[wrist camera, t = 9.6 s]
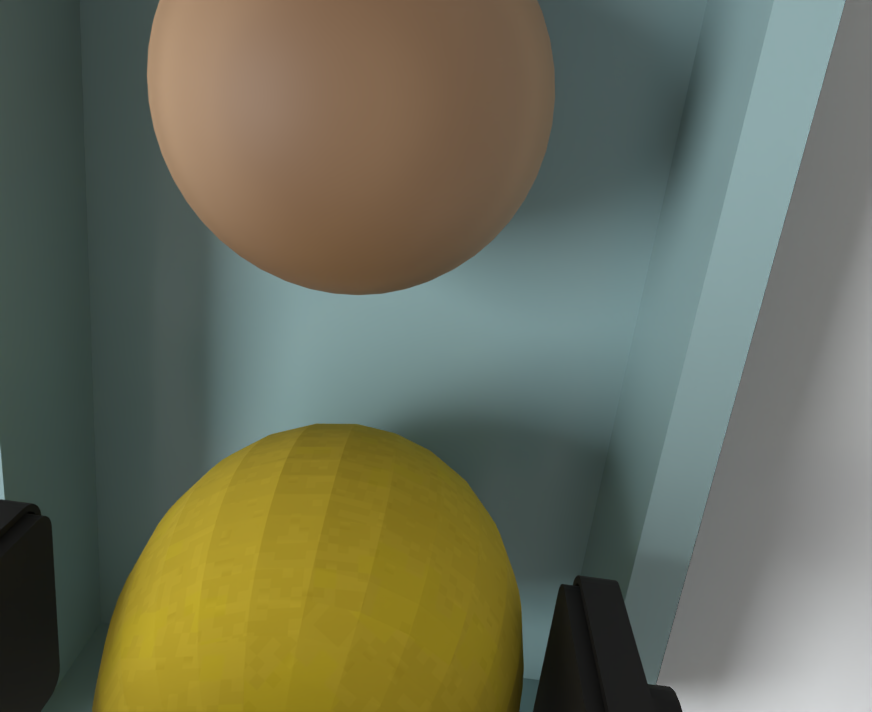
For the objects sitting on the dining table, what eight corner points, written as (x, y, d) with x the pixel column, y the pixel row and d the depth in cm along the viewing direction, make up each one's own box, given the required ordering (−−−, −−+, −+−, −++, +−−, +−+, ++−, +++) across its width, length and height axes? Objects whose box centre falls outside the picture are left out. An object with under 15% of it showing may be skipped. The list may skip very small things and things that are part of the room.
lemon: (155, 483, 15) (-168, 914, 7) (359, 290, 13) (225, 573, 6) (362, 657, 16) (274, 1179, 8) (567, 498, 14) (684, 954, 7)
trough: (780, -127, 11) (904, -211, 8) (584, 695, 17) (610, 846, 13) (38, -222, 11) (-139, -344, 8) (78, 629, 17) (-19, 763, 13)
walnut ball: (564, -62, 11) (630, -163, 7) (511, 268, 13) (533, 376, 8) (226, -106, 11) (50, -237, 7) (218, 230, 13) (74, 316, 8)
